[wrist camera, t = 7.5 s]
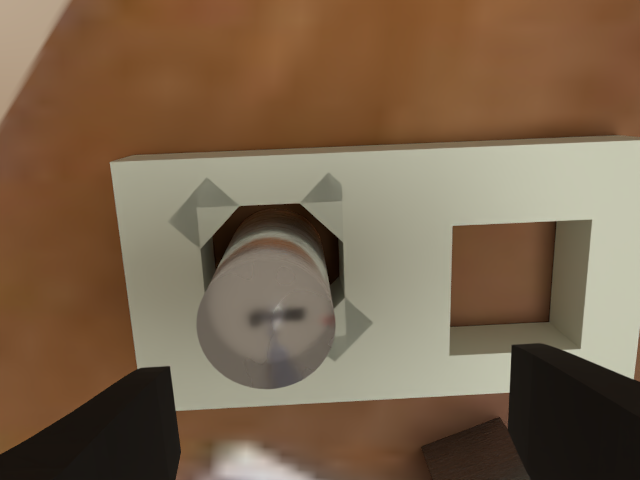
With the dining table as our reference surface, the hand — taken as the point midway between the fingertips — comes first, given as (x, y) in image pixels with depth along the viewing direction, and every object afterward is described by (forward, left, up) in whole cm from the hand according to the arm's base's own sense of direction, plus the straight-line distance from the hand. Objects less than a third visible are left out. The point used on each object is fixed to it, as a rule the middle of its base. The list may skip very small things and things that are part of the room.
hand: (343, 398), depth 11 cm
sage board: (0, -2, -10) cm, 10 cm away
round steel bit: (0, +2, -10) cm, 10 cm away
